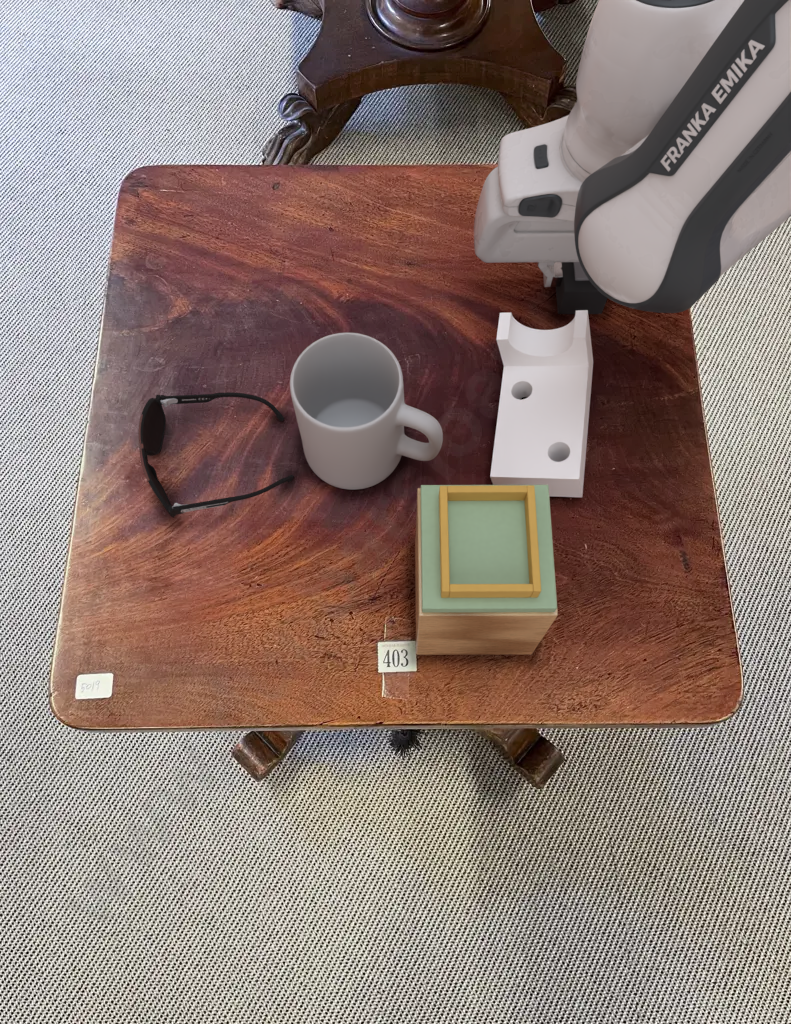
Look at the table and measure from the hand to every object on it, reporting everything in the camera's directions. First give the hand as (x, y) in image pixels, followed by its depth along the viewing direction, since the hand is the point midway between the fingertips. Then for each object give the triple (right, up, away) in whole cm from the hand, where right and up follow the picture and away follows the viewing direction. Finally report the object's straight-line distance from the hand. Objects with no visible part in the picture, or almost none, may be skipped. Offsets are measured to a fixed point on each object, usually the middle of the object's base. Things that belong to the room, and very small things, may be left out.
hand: (580, 280), depth 77 cm
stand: (-11, -28, -9) cm, 31 cm away
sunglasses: (-31, -17, -4) cm, 36 cm away
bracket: (-5, -13, -3) cm, 15 cm away
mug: (-19, -16, -4) cm, 25 cm away
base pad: (-11, -23, -20) cm, 33 cm away
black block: (0, -1, +1) cm, 2 cm away
